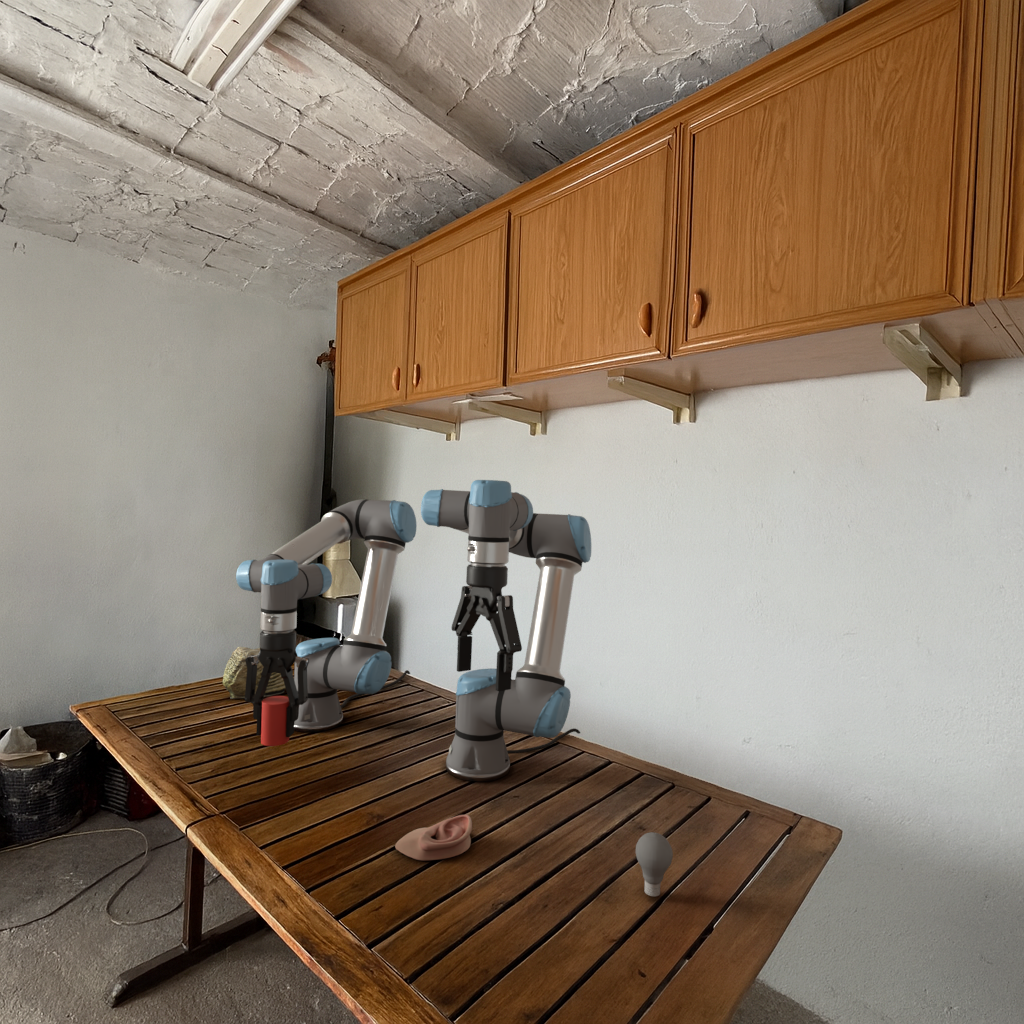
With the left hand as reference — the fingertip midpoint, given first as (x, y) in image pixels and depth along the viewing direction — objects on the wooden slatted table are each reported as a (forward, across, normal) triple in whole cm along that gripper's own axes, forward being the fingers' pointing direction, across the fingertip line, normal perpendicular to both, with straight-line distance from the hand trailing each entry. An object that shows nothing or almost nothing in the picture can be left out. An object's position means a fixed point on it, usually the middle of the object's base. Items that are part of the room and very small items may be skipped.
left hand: (275, 733), depth 140 cm
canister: (+2, 0, 0) cm, 2 cm away
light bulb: (+10, +78, -32) cm, 85 cm away
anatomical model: (+10, +40, -22) cm, 46 cm away
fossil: (+11, -30, +56) cm, 65 cm away
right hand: (-21, +47, -21) cm, 56 cm away
